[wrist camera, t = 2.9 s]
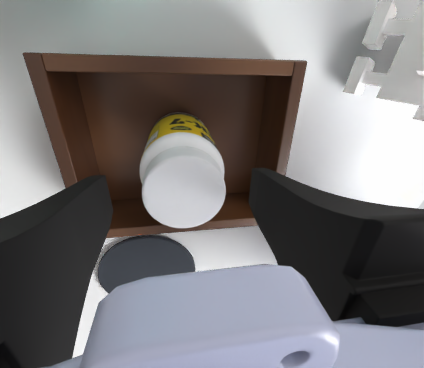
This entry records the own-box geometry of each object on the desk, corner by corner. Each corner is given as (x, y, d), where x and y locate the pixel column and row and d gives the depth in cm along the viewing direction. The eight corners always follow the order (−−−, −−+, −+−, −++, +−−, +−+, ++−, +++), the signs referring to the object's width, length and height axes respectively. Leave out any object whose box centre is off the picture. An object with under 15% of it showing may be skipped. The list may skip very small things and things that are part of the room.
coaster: (194, 231, 23) (194, 234, 23) (195, 295, 28) (195, 298, 27) (88, 240, 21) (87, 243, 21) (108, 306, 26) (107, 309, 26)
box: (276, 60, 17) (308, 60, 13) (258, 196, 22) (276, 224, 18) (61, 54, 15) (21, 52, 11) (99, 206, 20) (82, 240, 16)
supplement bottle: (221, 130, 18) (254, 177, 11) (192, 177, 20) (204, 247, 12) (165, 98, 16) (160, 127, 9) (138, 152, 18) (115, 216, 11)
